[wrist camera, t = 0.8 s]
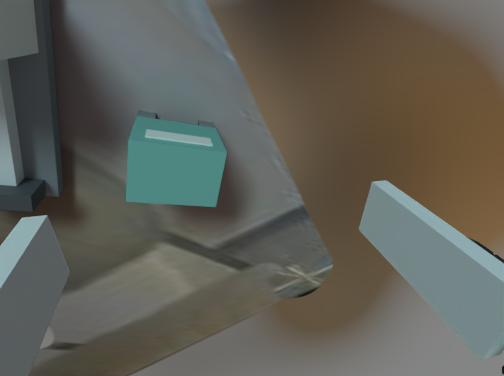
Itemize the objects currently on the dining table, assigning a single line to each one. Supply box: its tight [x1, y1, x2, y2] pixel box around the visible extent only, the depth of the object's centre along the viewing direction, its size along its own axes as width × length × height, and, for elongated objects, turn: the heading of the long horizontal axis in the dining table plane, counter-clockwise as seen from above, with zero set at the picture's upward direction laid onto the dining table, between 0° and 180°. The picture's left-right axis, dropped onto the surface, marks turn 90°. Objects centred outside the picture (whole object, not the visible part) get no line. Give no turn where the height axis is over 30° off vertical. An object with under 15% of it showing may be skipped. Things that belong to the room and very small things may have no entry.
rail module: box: [126, 111, 227, 207], centre depth 25 cm, size 5×7×8 cm
